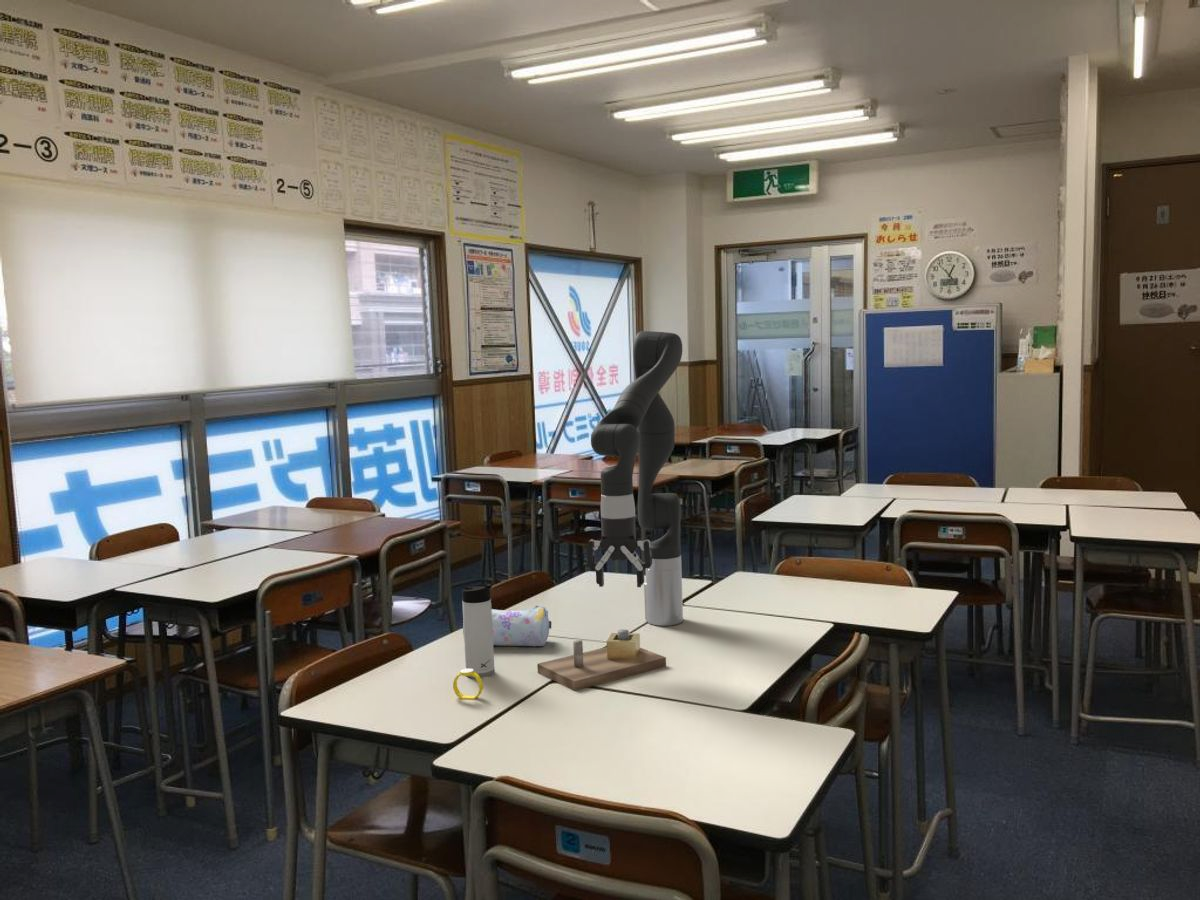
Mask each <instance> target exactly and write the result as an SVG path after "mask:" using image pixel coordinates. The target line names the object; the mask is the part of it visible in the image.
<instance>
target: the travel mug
mask: <svg viewBox="0 0 1200 900" xmlns="http://www.w3.org/2000/svg"><path fill="white" fill-rule="evenodd" d="M492 588H493V585H492V583H479V584H478V583H477V584H474V585H470V586H467V587H464V589H462V590H461V594H462V595H461V597H462V598H461V599H462V601H461V603H462V618H463V619H462V621H463V624H462V626H463V625H464V635H463V638H464V639H463V641H464V642H463V643H464V659H465V669H468V668H471V669H473V670H474V672H475V673H477V674H478V675H479V676H480V678H481V679H485V678H488V677H491V676H493V675H494V674H495V672H496V669H495V652H494V645H493V628H492V609H493V608H492V602H491V601H492V597H491V589H492ZM467 677H468V678H472V679H476V678H475V677H473V676H472V675H469V676H467Z"/></svg>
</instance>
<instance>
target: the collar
mask: <svg viewBox="0 0 1200 900" xmlns="http://www.w3.org/2000/svg"><path fill="white" fill-rule="evenodd" d="M628 633H629V632H628ZM640 640H641V637H640V633H636V632H635V633H633V632H632V633H629V640H618V632H616V633H615V632H611V634H610V635H609V637H608V638H607V640H606V647H607V659H625V660H636V659H637V656H638V654H639V652H640V648H641V641H640Z"/></svg>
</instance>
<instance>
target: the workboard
mask: <svg viewBox="0 0 1200 900" xmlns="http://www.w3.org/2000/svg"><path fill="white" fill-rule="evenodd" d="M572 644H573V645H572V646H573V647H572V649H573V654H572V655H568V656H563V657H560V658H555V659H552V660H547V661H543V662H539V663H537V673H538V674H539V675H542V676H544V677H545V678H548V679H550V680H552V681H554V682H556V683H559V684H560V685H562V686H564V687H566V688H569V689H571V690H573V691H578V690H579V691H580V690H582V689H583V690H584V689H586V688H591V687H593V686H594V687H595V686H597V685H601V684H604V683H605V684H606V683H608V682H612V681H616V680H619V679H620V680H621V679H623V678H627V677H630V676H636V675H638V674H642V673H646V672H650V671H653V670H657V669H660V668H661V669H662V668H665V667H667V657H666V656H664V655H661V654H658V653H656V652H653V651H650V650H647V649H645V648H642V647H640V652H639V654H638V656H637V659H636V660H625V659H607V646H605V647H601V648H597V649H592V650H589V651H584V649H583V647H584V645H583V640H582V639H581V640H580V639H576V640H573V642H572Z"/></svg>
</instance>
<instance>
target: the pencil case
mask: <svg viewBox="0 0 1200 900" xmlns="http://www.w3.org/2000/svg"><path fill="white" fill-rule="evenodd" d="M491 609H492V628H493V646H502V647H503V646H505V647H507V646H508V647H509V646H510V647H519V646H520V647H544V646H545V645H546V643H547V641H548V638H549V635H550V634H549V633H550V629H551V630H552V621H551V620H549V619H550V618H549V611H548V609H547V608H546V607H545V606H539V605H534V607H533V608H529V609H528V608H525V609H519V610H503V609H494V608H491ZM462 634H463V636H464V625H463V624H462Z"/></svg>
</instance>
